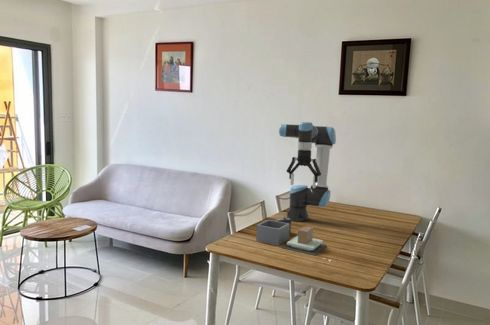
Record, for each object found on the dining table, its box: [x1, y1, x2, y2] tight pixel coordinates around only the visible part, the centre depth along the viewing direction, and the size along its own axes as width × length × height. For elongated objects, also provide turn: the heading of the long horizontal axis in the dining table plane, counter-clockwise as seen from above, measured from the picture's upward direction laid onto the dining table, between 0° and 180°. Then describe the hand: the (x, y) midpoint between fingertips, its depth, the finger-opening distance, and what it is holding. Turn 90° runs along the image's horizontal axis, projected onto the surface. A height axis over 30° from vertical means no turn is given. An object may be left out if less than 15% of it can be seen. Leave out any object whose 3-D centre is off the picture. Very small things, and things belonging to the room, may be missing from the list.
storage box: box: [255, 219, 290, 246], centre depth 225 cm, size 14×14×9 cm
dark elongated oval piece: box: [276, 215, 292, 235], centre depth 237 cm, size 9×3×11 cm, turn 109°
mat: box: [282, 243, 327, 256], centre depth 214 cm, size 18×18×1 cm
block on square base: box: [286, 225, 324, 251], centre depth 214 cm, size 15×15×10 cm
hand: (302, 186), depth 226 cm, fingers open, 13 cm apart
